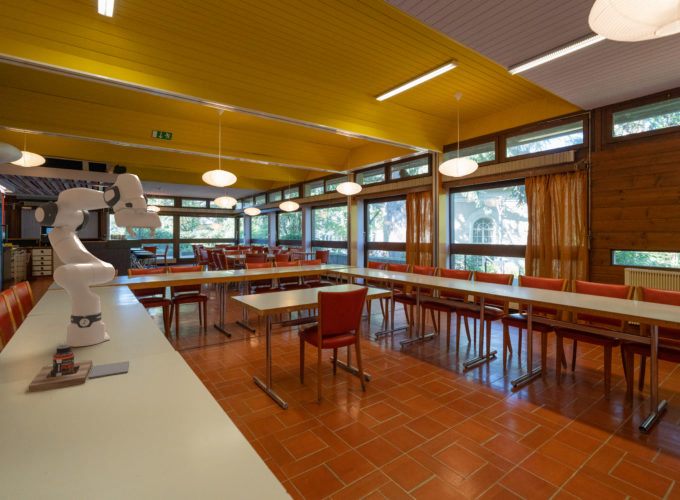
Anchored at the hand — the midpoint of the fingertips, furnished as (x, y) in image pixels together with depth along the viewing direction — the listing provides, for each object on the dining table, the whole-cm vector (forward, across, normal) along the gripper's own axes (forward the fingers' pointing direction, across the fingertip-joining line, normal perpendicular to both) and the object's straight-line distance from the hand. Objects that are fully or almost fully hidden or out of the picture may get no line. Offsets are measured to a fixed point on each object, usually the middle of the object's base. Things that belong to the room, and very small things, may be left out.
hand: (143, 237), depth 146 cm
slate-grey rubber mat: (+51, +20, -11) cm, 56 cm away
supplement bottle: (+48, +31, -19) cm, 60 cm away
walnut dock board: (+48, +31, -19) cm, 60 cm away
